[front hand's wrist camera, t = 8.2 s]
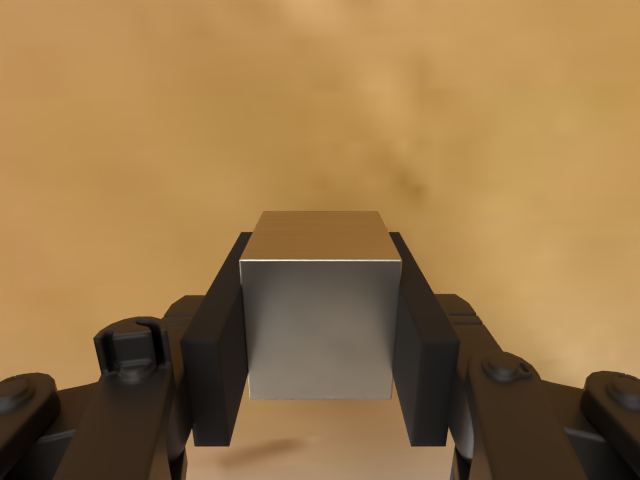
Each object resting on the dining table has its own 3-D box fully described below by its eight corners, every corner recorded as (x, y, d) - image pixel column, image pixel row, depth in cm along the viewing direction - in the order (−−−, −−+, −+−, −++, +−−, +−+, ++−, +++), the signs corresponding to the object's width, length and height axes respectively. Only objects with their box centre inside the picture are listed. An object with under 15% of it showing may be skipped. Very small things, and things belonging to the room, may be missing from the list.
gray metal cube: (268, 318, 15) (249, 400, 11) (262, 210, 14) (238, 259, 10) (372, 318, 15) (392, 400, 11) (378, 210, 14) (402, 259, 10)
